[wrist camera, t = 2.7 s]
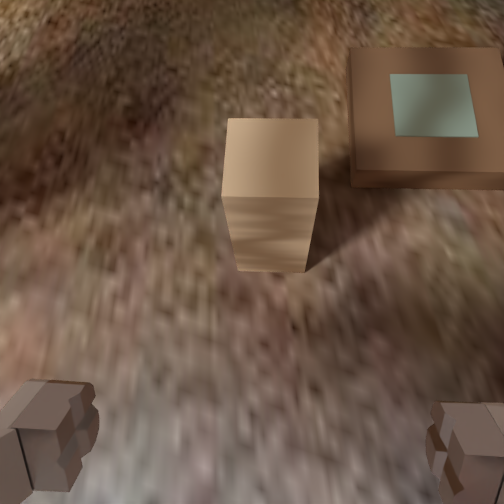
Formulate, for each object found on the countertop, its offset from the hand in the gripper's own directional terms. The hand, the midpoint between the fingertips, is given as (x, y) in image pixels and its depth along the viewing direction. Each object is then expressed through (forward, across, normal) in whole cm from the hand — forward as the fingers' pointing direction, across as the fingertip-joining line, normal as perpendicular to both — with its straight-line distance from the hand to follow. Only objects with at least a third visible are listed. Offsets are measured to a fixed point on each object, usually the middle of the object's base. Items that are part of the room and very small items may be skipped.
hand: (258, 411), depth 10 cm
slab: (+24, -10, -4) cm, 26 cm away
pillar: (+17, 0, +2) cm, 17 cm away
